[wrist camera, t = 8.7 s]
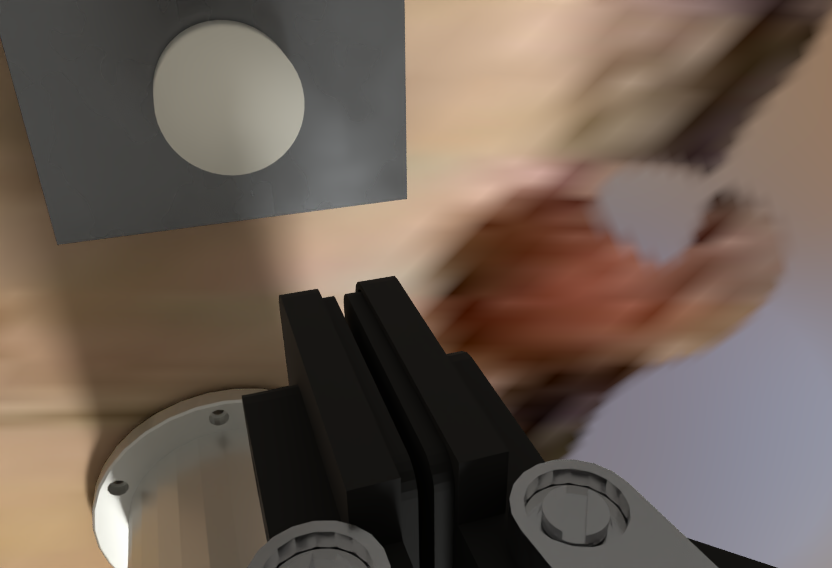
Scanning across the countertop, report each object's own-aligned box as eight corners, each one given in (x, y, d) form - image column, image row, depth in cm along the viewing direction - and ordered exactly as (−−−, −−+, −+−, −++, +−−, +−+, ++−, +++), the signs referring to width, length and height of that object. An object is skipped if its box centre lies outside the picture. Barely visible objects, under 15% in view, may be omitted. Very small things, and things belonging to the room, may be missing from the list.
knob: (286, 126, 27) (310, 167, 24) (164, 138, 26) (167, 183, 22) (274, 1, 25) (298, 24, 21) (140, 8, 24) (140, 34, 20)
